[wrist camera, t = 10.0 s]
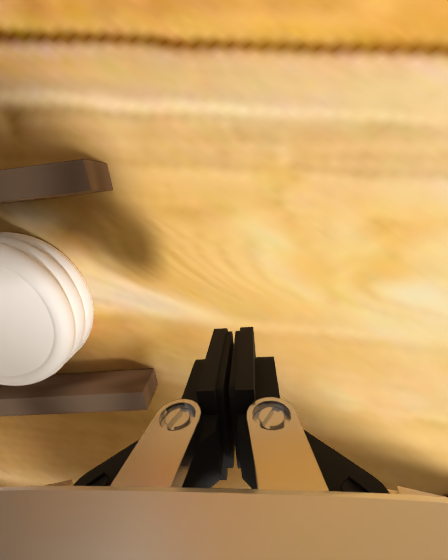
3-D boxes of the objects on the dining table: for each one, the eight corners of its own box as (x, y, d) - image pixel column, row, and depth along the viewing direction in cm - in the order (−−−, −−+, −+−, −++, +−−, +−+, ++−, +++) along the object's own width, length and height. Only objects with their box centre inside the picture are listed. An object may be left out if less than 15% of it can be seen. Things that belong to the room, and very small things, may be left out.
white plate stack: (101, 364, 21) (75, 397, 17) (-22, 351, 21) (-71, 381, 18) (91, 237, 17) (57, 248, 14) (-55, 223, 18) (-123, 231, 14)
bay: (106, 163, 16) (83, 159, 13) (157, 384, 21) (147, 409, 18) (-113, 192, 17) (-170, 192, 15) (-15, 393, 22) (-46, 418, 20)
